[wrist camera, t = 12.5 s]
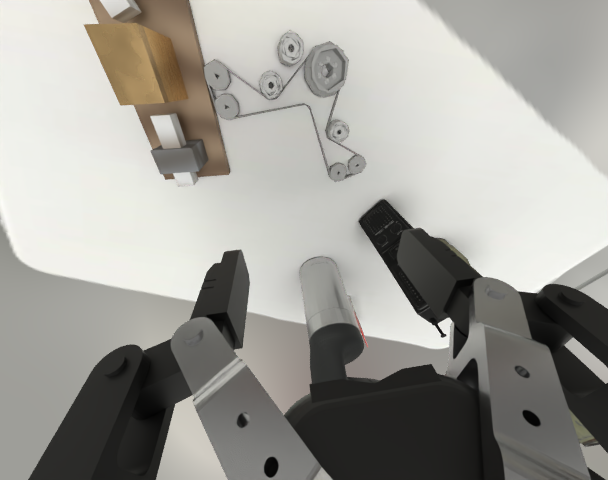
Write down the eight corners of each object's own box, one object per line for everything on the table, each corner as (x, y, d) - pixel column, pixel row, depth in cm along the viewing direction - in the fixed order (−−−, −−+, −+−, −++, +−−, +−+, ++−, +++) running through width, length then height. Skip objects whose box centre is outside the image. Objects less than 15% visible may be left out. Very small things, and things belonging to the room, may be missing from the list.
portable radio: (386, 193, 43) (488, 290, 22) (402, 210, 45) (507, 310, 25) (356, 220, 46) (422, 328, 25) (373, 235, 48) (445, 343, 28)
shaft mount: (230, 171, 37) (222, 187, 31) (169, 176, 36) (149, 193, 30) (162, -107, 21) (122, -177, 15) (51, -108, 20) (-34, -182, 15)
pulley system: (236, -34, 25) (197, 101, 31) (233, -57, 21) (188, 102, 27) (398, 107, 36) (345, 186, 42) (415, 108, 32) (354, 195, 38)
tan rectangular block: (188, 98, 29) (164, 102, 23) (154, 100, 29) (120, 105, 22) (170, 38, 26) (136, 22, 19) (131, 39, 25) (83, 24, 19)
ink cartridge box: (349, 319, 66) (359, 350, 58) (340, 297, 60) (351, 329, 52) (356, 316, 66) (368, 348, 58) (349, 294, 59) (361, 326, 52)
